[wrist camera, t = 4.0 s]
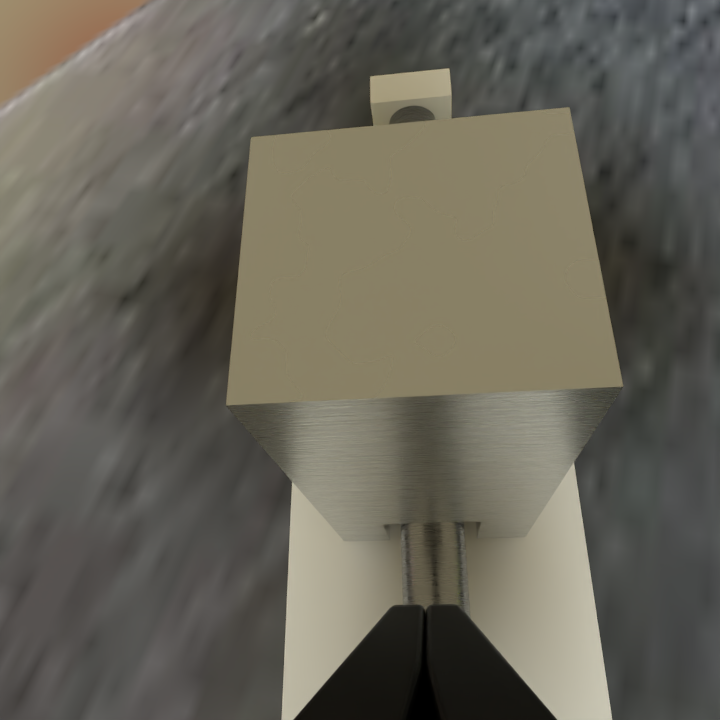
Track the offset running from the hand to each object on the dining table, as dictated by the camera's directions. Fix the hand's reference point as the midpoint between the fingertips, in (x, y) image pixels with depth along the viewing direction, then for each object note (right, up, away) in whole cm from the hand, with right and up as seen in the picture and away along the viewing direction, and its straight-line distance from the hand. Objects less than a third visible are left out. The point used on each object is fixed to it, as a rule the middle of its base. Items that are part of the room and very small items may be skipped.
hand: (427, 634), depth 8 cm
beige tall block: (+2, 0, +13) cm, 13 cm away
